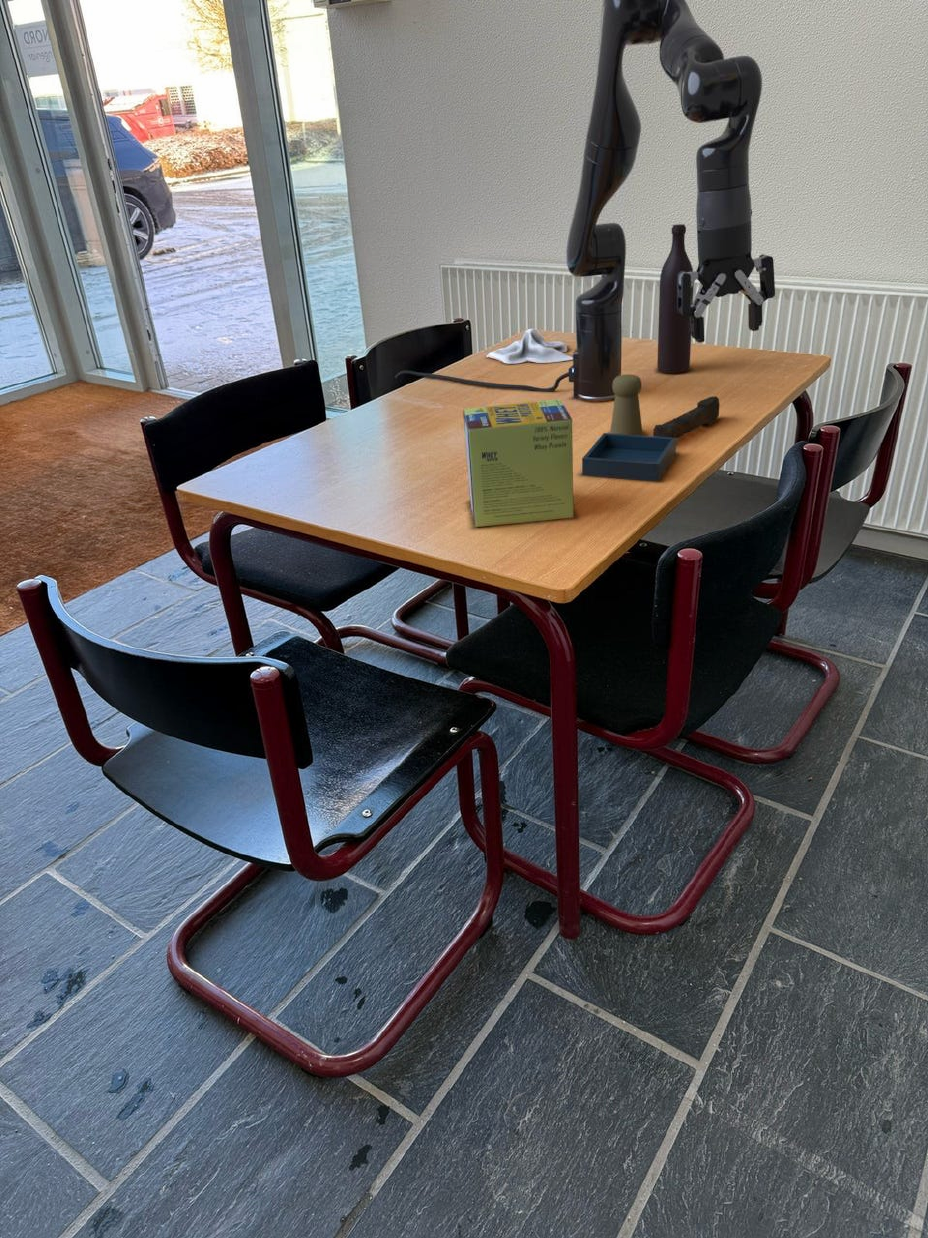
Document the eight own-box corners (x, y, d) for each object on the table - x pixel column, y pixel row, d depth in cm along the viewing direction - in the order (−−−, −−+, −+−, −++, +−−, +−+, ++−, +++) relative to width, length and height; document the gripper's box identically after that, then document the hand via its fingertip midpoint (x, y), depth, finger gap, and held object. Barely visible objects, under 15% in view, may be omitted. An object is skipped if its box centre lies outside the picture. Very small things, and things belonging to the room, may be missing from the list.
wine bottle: (692, 373, 199) (699, 225, 184) (660, 375, 200) (664, 228, 185) (686, 364, 205) (692, 221, 190) (654, 366, 206) (658, 224, 191)
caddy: (582, 475, 152) (582, 458, 151) (603, 449, 163) (603, 432, 161) (658, 481, 148) (659, 464, 146) (675, 454, 158) (676, 437, 156)
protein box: (575, 518, 138) (573, 418, 130) (474, 528, 137) (466, 429, 129) (563, 492, 147) (561, 397, 139) (468, 501, 146) (461, 407, 138)
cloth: (479, 363, 220) (477, 337, 217) (506, 344, 235) (505, 319, 232) (566, 366, 212) (566, 339, 209) (589, 346, 226) (589, 321, 223)
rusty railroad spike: (670, 448, 160) (671, 423, 158) (651, 444, 163) (652, 419, 160) (730, 420, 171) (732, 396, 168) (712, 416, 173) (714, 392, 171)
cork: (635, 442, 164) (636, 381, 159) (604, 438, 167) (604, 378, 162) (647, 431, 169) (649, 372, 163) (617, 428, 172) (618, 370, 166)
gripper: (760, 209, 133) (761, 321, 141) (666, 228, 133) (672, 340, 141) (783, 213, 127) (782, 331, 135) (685, 233, 126) (690, 350, 134)
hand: (726, 335), depth 138 cm, fingers open, 8 cm apart
